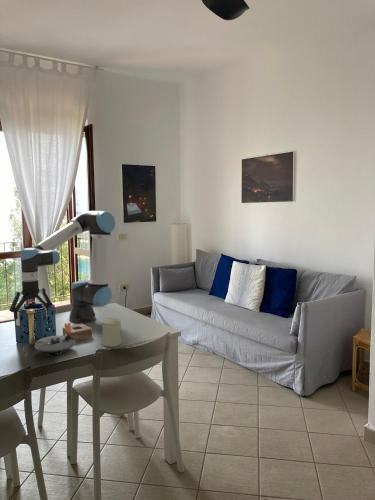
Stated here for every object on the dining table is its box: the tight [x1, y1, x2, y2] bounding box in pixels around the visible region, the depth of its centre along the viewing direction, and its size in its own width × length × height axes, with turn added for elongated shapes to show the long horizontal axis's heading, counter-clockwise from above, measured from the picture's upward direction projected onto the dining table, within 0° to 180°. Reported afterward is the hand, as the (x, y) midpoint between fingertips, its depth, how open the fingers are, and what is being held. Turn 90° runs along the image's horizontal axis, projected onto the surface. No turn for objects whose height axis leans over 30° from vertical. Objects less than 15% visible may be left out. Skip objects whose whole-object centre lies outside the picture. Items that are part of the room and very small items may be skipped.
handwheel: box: [34, 322, 76, 353], centre depth 190 cm, size 18×18×8 cm
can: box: [101, 318, 122, 348], centre depth 202 cm, size 9×9×12 cm
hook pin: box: [26, 308, 36, 345], centre depth 201 cm, size 4×4×17 cm
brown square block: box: [62, 323, 93, 343], centre depth 211 cm, size 11×11×5 cm
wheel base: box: [48, 351, 63, 355], centre depth 191 cm, size 6×6×3 cm
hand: (31, 322), depth 201 cm, fingers open, 13 cm apart
